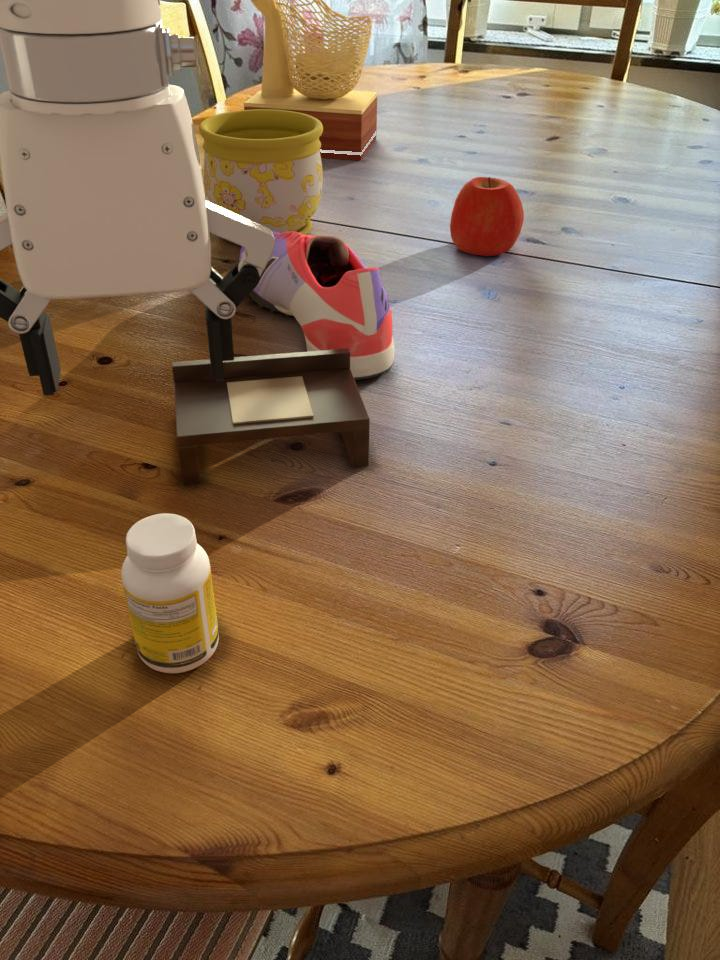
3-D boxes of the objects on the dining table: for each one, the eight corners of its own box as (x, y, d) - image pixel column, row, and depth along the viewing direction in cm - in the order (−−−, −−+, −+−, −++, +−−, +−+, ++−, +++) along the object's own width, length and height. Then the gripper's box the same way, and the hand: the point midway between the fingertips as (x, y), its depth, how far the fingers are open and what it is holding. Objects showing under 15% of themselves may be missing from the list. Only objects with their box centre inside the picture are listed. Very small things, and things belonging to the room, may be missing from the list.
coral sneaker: (307, 263, 126) (306, 170, 118) (420, 377, 99) (427, 267, 91) (225, 275, 122) (218, 180, 114) (320, 398, 95) (318, 284, 87)
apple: (527, 242, 134) (536, 172, 128) (506, 266, 126) (515, 193, 120) (461, 230, 137) (467, 162, 131) (437, 253, 129) (442, 182, 123)
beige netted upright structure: (237, 151, 171) (224, -56, 150) (263, 128, 185) (254, -64, 164) (360, 161, 167) (363, -50, 146) (377, 137, 181) (383, -59, 160)
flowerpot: (187, 245, 130) (175, 132, 121) (238, 208, 144) (231, 104, 134) (298, 262, 126) (295, 146, 116) (339, 222, 140) (340, 115, 130)
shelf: (182, 485, 82) (174, 420, 77) (179, 423, 90) (171, 361, 86) (368, 466, 85) (370, 402, 80) (348, 408, 93) (348, 348, 89)
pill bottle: (174, 605, 69) (156, 495, 62) (235, 635, 66) (224, 524, 60) (119, 655, 64) (94, 543, 58) (183, 689, 62) (164, 576, 55)
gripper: (259, 47, 46) (273, 338, 56) (-88, 54, 43) (-7, 359, 53) (275, 77, 40) (287, 396, 50) (-126, 87, 37) (-26, 423, 47)
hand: (136, 376), depth 51 cm, fingers open, 9 cm apart
